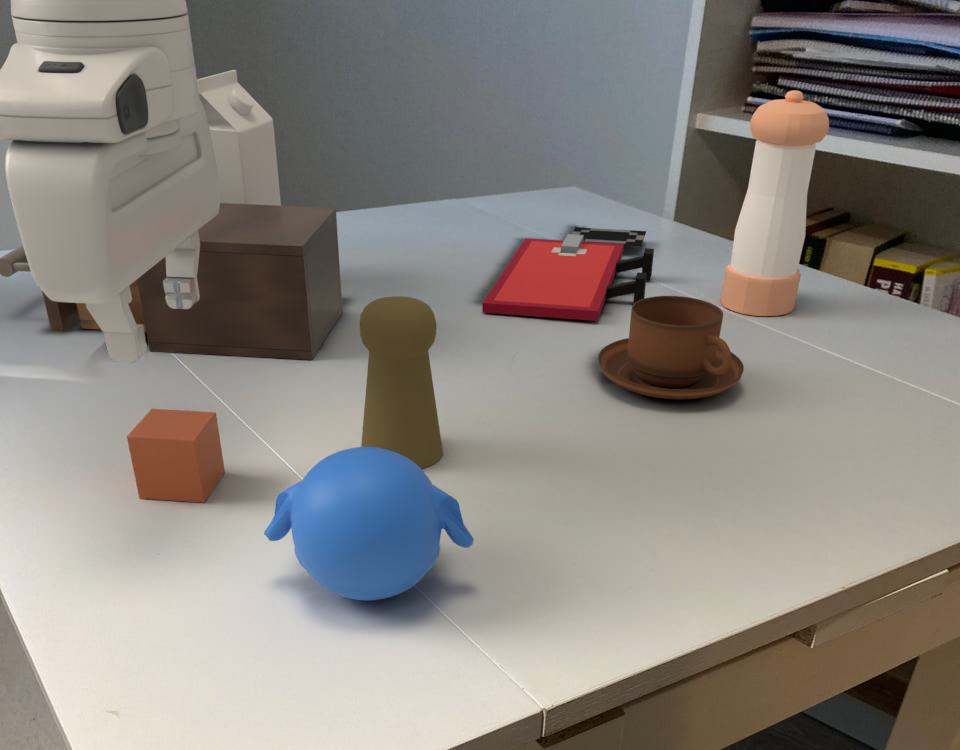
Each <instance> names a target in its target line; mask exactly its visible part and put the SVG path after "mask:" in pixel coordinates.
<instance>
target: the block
mask: <svg viewBox="0 0 960 750" xmlns="http://www.w3.org/2000/svg"><path fill="white" fill-rule="evenodd" d="M126 440H127V445H128V446H127V447H128V449H129V454H130V460H131V464H132V469H133V475H134V478H135V483H136V488H137V494H138V498H139V499H143V500H144V499H145V500H159V501H173V502H188V503H190V502H191V503H203V504H204V503H206V501H207V500H208V498H209V497H210V495H211V493H212V492H213V490H214V489H215V487H216V486H217V485H218V483H219V482H220V480H221V479H222V478H223V476H224V474H225V472H226V471H225V463H224V456H223V450H222V444H221V443H222V442H221V436H220V429H219V423H218V417H217V412H216V411H202V410H201V411H200V410H199V411H198V410H182V409H169V408H168V409H167V408H151V409H150V410H149V411H148V412H147V413H146V415H145V416H143V418H142V419H141V420H140V421H139V422H138V423H137V424H136V426H134V428H133V429H132V430H131V431H130V432H129V433H128V434H127V436H126Z"/></svg>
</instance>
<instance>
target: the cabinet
mask: <svg viewBox="0 0 960 750" xmlns="http://www.w3.org/2000/svg"><path fill="white" fill-rule="evenodd" d="M198 233H199V239H200V252H199V262H198V272H197V281H198V288H199V295H200V298H199V301H198V302H197V303H195V304H194V305H193V306H192V307H191V308H190V309H173V308H170V307H169V306H168V305H167V303H166V294H165V292H164V286H163V281H164V280H165V279H166V278H167V276H166V256H165V257H164V258H163V259H162V260H160V261H159V262H158V263H157V264H155V265H154V266H153V267H152V268H151V269H149V270H148V271H147V272H146V273H144V274H143V275H142V276H141V277H139V278H138V279H137V284H138V289H139V295H140V300H141V305H142V311H143V316H144V322H145V327H146V332H145V334H146V338H147V343H148V344H147V345H148V348H149V349H148V350H149V352H161V353H179V354H196V355H197V354H198V355H213V356H215V355H216V356H231V357H232V356H233V357H252V358H267V359H284V360H285V359H286V360H288V359H289V360H305V361H312V360H313V359H314V358H315V356H316V354H317V353H318V351H319V350H320V348H321V347H322V345H323V344H324V342H325V340H326V339H327V337H328V336H329V334H330V333H331V331H332V330H333V328H334V326H335V325H336V323H337V322H338V320H339V319H340V317H341V316H342V314H343V298H342V281H341V268H340V267H341V266H340V252H339V251H340V249H339V237H338V220H337V208H336V207H320V206H319V207H318V206H317V207H316V206H299V205H298V206H296V205H281V206H276V205H253V204H231V203H220V209H219V213H218V215H216V216H215V217H214V218H213V219H212V220H210V221H209V222H208V223H207V224H205V225H204V226H203V227H202V228H200V229H199V230H198Z"/></svg>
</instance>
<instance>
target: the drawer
mask: <svg viewBox="0 0 960 750" xmlns="http://www.w3.org/2000/svg"><path fill="white" fill-rule="evenodd" d="M17 272H29V273H31V270H30V267H29V264H28V261H27V257H26V254H25V251H24V247H23V244H21V245H20V246H18V247H16V248H15V249H13V250H11V251H10V252H7V253H6V254H4V255H3V256H1V257H0V276H2V277H4V278H9V277H11V276H13V275H15V274H16V273H17ZM130 291H131V296H132V301H131V302H130V303H128V305H129V308H130V310H131V312H132V315H133V317H134V320H135V322H136V324H142V325H143V327H144V332H145V333H146V327H145V322H144V316H143V311H142V305H141V300H140V295H139V289H138V284H137V280H136V281H134V282H133V283H132V284H131V285H130ZM41 293H42V297H43V301H44V305H45V309H46V314H47V318H48V322H49V326H50V331H51V332H57V333H58V332H59V333H65V332H66V331H67V330H69V329H70V328H72V327H73V326H74V325H76V324H77V323H78V322H80V326H81V329H83V330H99V331H102V330H101V329H100V327H99V326H98V324H97V323H96V321H95V320H94V318H93V317H92V315H91V314H90V312H89V311H88V309H87V308H86V303H69V302H57V301H52V300H51V299H49V298H48V297H47V296H46V295H45V293H44V292H43V291H42V290H41Z"/></svg>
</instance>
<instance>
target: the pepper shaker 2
mask: <svg viewBox="0 0 960 750" xmlns="http://www.w3.org/2000/svg"><path fill="white" fill-rule="evenodd" d="M804 98H805V97H804V94H803V92H802V91H800V90H796V89H795V90H789V91H787V93H786V94H785V95H784V98H783V99H772V100H770V101H768V102H766V103H763V104H761V105H759V106H758V107H757V109H756V110H755V111H754V113H753V114H752V115H751V119H750V121H749V128H750V133H751V136H752V138H754V139H756V141H755V143H754V144H755V146H754V149H753V150H754V151H753V156H752V162H751V168H750V169H751V170H750V173H749V174H750V175H749V179H748V180H749V181H748V185H747V190H746V193H745V196H744V200H743V203H742V206H741V209H740V213H739V216H738V219H737V222H736V225H735V229H734V234H733V235H734V236H733V242H732V251H731V258H730V262H729V263H728V264H727V265H726V266H725V271H724V278H723V285H722V288H721V289H722V290H721V295H720V296H721V297H720V304H721V305H722V306H723V307H724V308H726V309H728V310H729V311H732V312H735V313H739V314H743V315H749V316H756V317H778V316H783V315H787V314H789V313H791V312H792V311H793V310H795V306H796V300H797V296H798V290H799V285H800V281H801V276H802V275H801V271H800V269H799V264H800V262H801V261H800V260H801V256H802V253H803V252H802V251H803V248H804V243H805V239H806V230H807V229H806V227H807V205H808V192H809V186H810V181H811V175H812V171H813V166H814V165H813V164H814V159H815V154H816V150H817V144H818V143H821V142H822V141H824V138H825V137H826V135H827V133H828V132H829V130H830V120H829V119H830V118H829V116H828V114H827V111H826V110H825V109H824V108H823V107H822V106H821V105H819V104H817V103H816V102H813V101H810V100H803V99H804Z"/></svg>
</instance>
